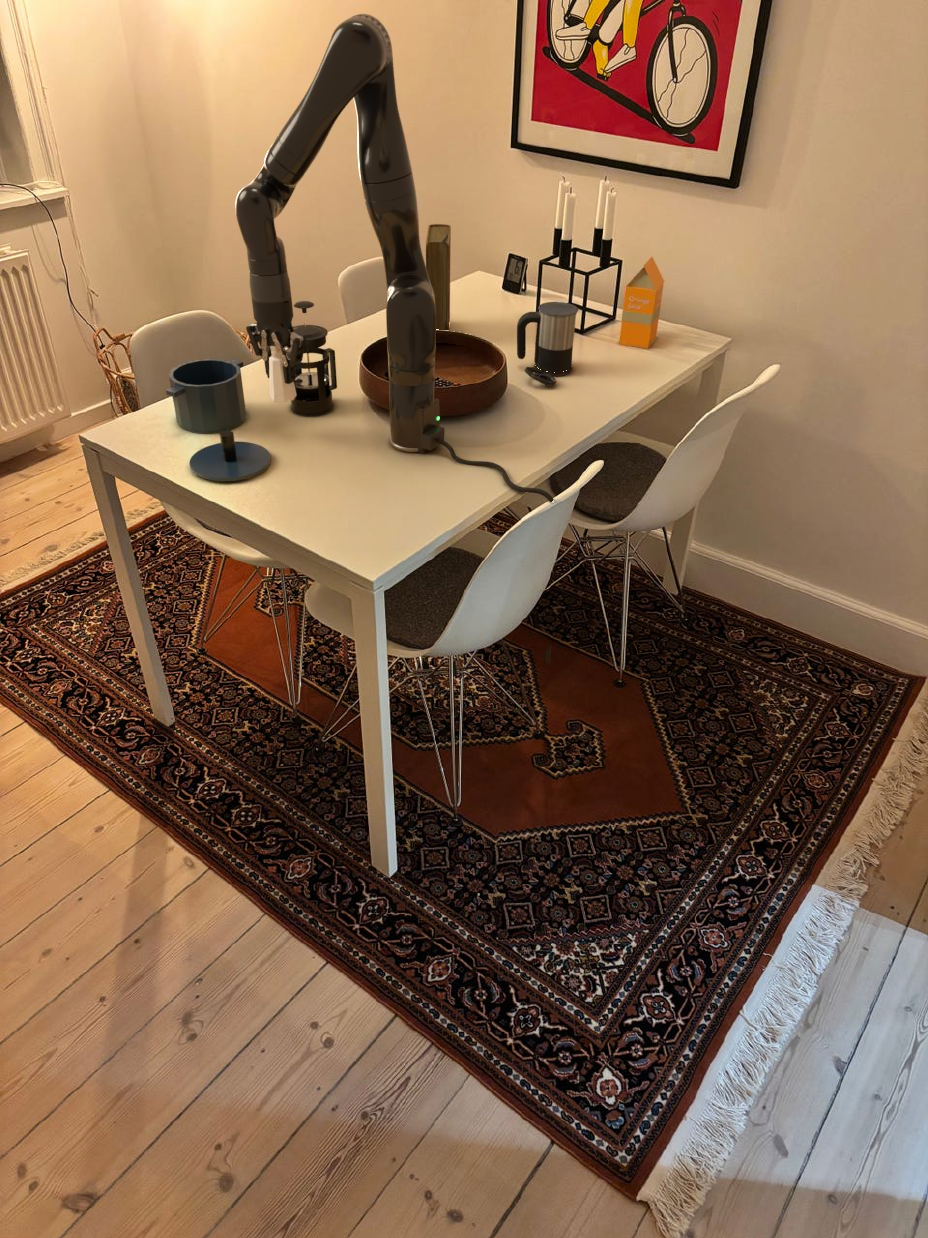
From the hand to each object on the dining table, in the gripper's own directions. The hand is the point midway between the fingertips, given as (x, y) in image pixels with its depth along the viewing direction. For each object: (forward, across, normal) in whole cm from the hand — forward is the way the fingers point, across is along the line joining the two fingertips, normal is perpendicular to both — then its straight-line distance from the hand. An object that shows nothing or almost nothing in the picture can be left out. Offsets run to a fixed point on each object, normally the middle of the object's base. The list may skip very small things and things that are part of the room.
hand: (281, 379), depth 194 cm
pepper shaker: (+4, 0, 0) cm, 4 cm away
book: (+13, -7, +66) cm, 68 cm away
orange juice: (+14, +37, +92) cm, 100 cm away
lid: (+11, 0, -16) cm, 20 cm away
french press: (+12, -4, +14) cm, 19 cm away
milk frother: (+13, +30, +59) cm, 67 cm away
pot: (+12, -18, -3) cm, 22 cm away
